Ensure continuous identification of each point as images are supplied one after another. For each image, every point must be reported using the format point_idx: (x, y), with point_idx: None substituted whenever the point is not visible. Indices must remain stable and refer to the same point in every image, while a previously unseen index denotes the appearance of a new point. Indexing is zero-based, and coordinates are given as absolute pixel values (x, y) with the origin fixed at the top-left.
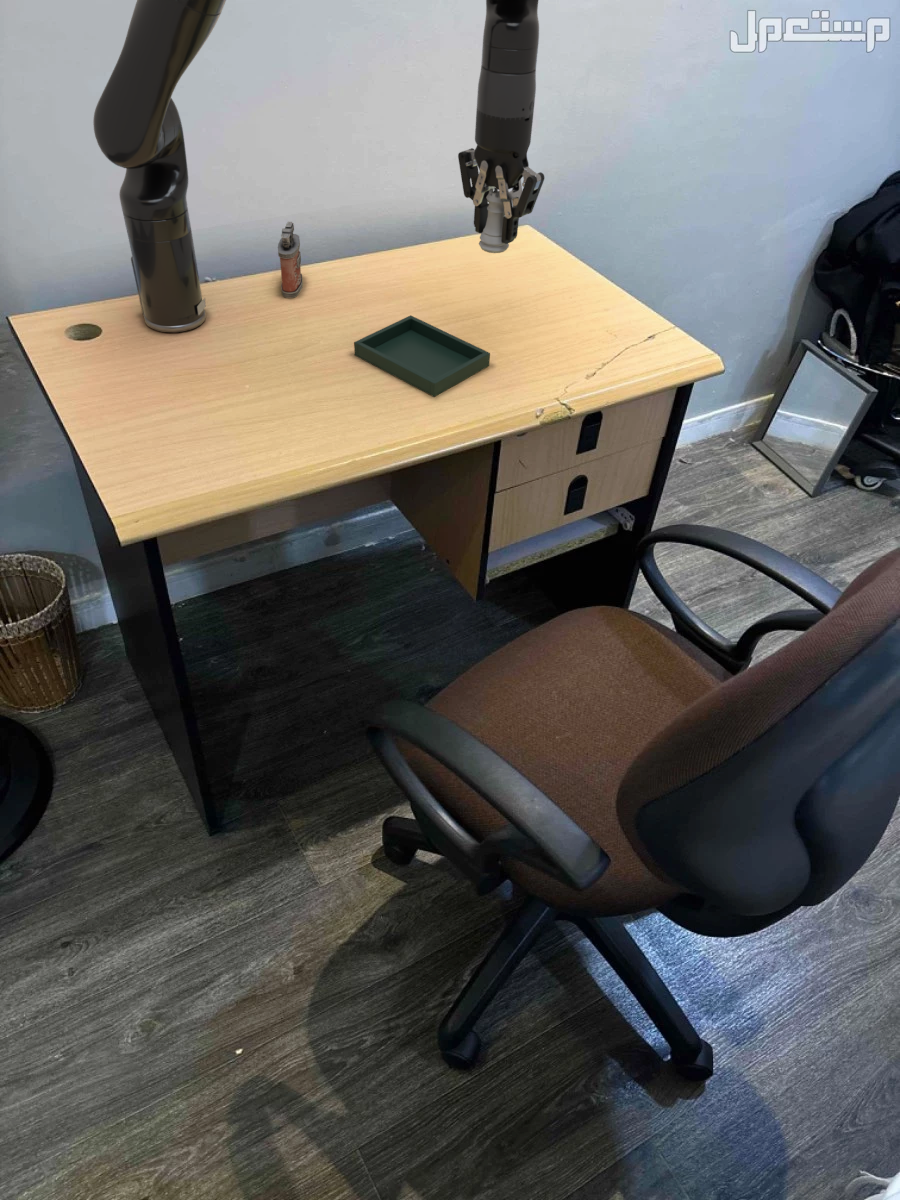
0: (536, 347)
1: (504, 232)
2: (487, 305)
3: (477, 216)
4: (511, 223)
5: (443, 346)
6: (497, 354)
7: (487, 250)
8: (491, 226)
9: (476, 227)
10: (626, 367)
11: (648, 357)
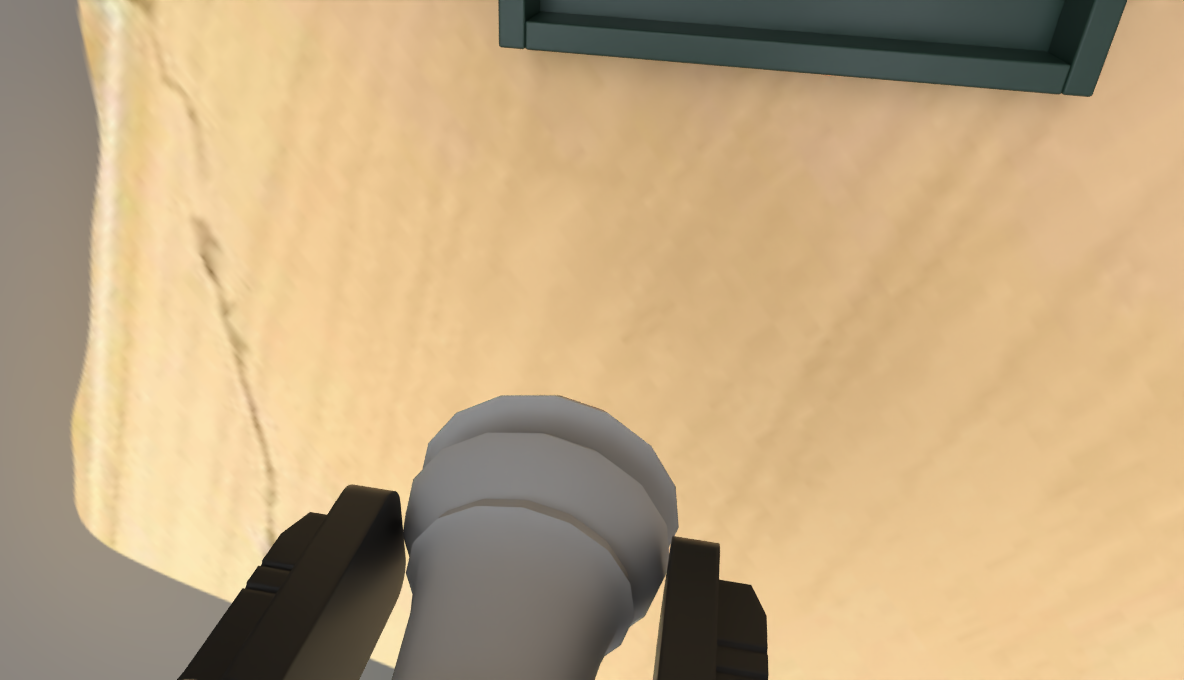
0: (477, 302)
1: (320, 554)
2: (832, 463)
3: (696, 668)
4: (214, 649)
5: (795, 26)
6: (556, 152)
7: (522, 396)
8: (474, 582)
9: (704, 569)
10: (182, 371)
11: (191, 460)
